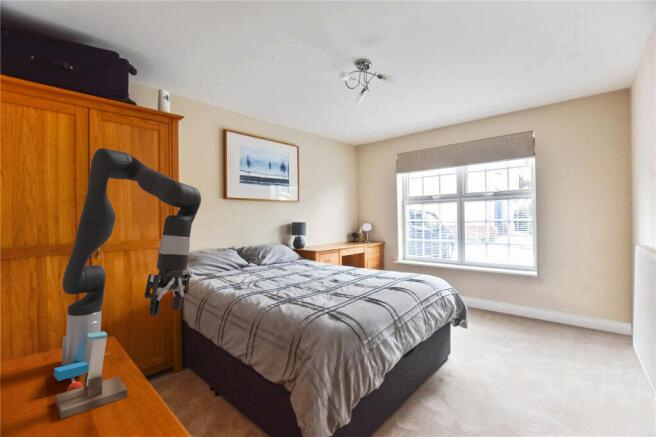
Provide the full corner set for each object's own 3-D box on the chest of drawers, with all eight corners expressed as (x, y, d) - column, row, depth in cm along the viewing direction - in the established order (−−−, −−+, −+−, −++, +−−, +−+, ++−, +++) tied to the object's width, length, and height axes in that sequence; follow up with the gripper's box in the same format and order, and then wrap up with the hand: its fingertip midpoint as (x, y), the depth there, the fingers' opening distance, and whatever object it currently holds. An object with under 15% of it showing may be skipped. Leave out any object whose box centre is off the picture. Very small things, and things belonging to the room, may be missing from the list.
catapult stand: (117, 383, 91) (118, 359, 91) (127, 396, 84) (128, 371, 84) (55, 402, 80) (57, 376, 80) (61, 419, 74) (62, 391, 74)
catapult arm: (96, 383, 84) (104, 331, 86) (99, 388, 82) (107, 334, 83) (78, 387, 81) (87, 333, 83) (81, 392, 79) (89, 337, 80)
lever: (53, 392, 93) (59, 400, 81) (54, 368, 94) (59, 372, 82) (81, 384, 98) (91, 390, 86) (82, 361, 99) (91, 365, 87)
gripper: (178, 253, 91) (171, 307, 89) (142, 250, 77) (132, 315, 75) (201, 254, 90) (193, 310, 87) (168, 252, 76) (158, 318, 73)
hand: (165, 312), depth 81 cm, fingers open, 8 cm apart
